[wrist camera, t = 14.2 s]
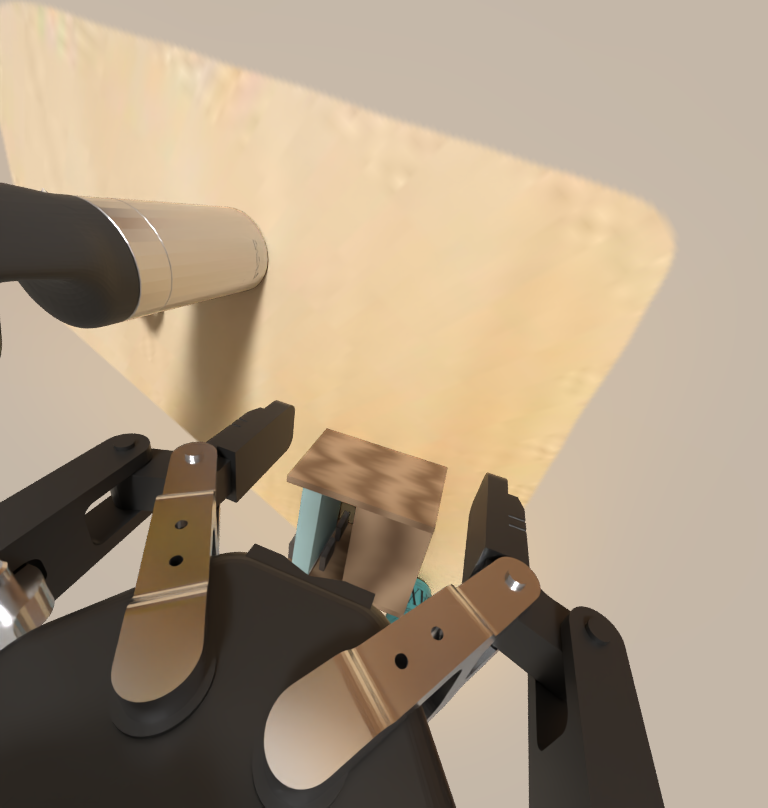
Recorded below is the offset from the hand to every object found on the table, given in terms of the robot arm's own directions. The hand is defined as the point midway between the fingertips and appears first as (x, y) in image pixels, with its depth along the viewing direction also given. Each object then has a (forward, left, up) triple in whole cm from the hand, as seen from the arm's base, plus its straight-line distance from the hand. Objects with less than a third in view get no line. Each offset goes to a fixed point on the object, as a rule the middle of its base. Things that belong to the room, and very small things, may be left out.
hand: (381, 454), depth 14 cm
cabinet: (-4, -29, -28) cm, 41 cm away
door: (-10, -30, -27) cm, 42 cm away
